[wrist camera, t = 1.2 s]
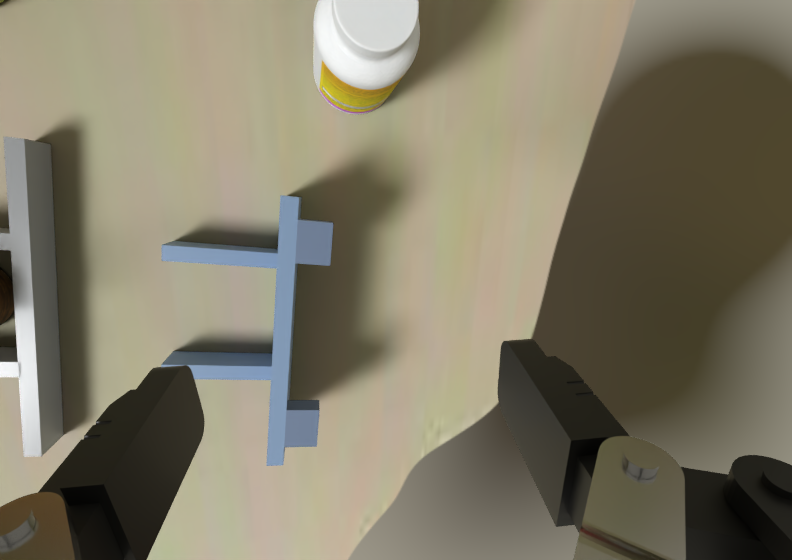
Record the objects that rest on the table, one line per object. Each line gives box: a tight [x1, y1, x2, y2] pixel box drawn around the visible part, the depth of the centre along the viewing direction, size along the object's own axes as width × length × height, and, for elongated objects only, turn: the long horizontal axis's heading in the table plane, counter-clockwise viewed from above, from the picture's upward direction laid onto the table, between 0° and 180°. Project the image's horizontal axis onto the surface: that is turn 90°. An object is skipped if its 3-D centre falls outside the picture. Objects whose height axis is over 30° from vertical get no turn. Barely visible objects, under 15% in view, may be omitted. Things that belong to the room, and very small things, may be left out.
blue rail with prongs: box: [161, 196, 333, 466], centre depth 33 cm, size 12×20×8 cm, turn 174°
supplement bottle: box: [313, 0, 420, 115], centre depth 28 cm, size 7×7×13 cm
